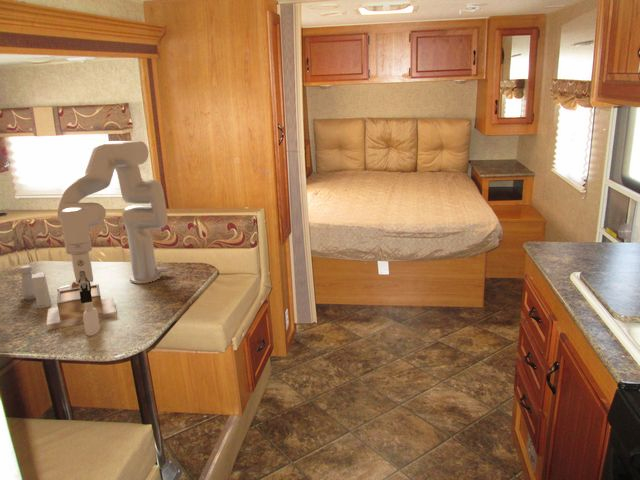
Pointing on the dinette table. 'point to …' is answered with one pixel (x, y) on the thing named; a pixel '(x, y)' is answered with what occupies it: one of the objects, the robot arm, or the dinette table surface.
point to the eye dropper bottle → (91, 319)
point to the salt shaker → (27, 283)
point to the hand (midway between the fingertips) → (86, 296)
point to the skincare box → (41, 290)
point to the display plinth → (79, 320)
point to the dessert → (73, 285)
